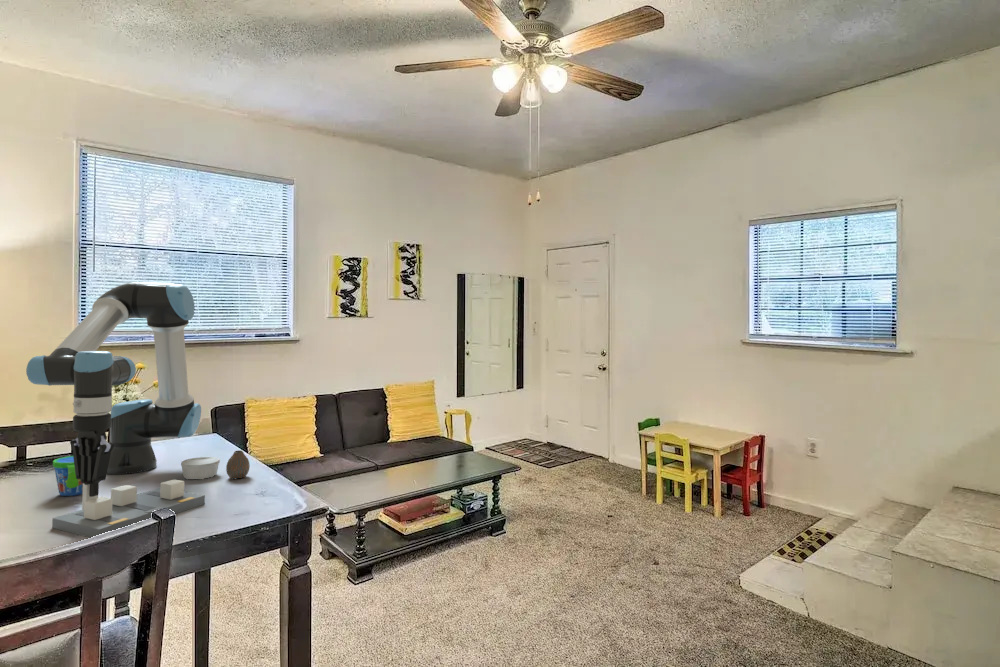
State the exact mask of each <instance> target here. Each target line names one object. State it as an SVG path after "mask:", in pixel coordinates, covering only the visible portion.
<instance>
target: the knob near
mask: <svg viewBox="0 0 1000 667" xmlns="http://www.w3.org/2000/svg"><path fill="white" fill-rule="evenodd" d="M110 515H112V499H111V497H107V496H98V498H94V499H91V500H87V501H84V518H88V519H92V520H97V519H100V518H103V517H107V516H110Z"/></svg>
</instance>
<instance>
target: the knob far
mask: <svg viewBox="0 0 1000 667" xmlns="http://www.w3.org/2000/svg"><path fill="white" fill-rule="evenodd" d="M159 488H160V498H165V499H170V500H171V499H174V498H178V497H181V496H184V491H185V481H184V480H179V479H175V478H174V479H171V480H167V481H162V482H160V486H159Z"/></svg>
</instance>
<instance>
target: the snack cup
mask: <svg viewBox="0 0 1000 667" xmlns="http://www.w3.org/2000/svg"><path fill="white" fill-rule="evenodd" d="M52 467H53V468H54V471H55V472H54V473H55V480H56V484H57V489H58V494H59V495H60V496H61V497H63V496H65V497H70V496H71V497H72V496H79V495H80V496H81V495H83V494H82V491H83V490H82V486H83V483H81V480H80V479H76V474H75V466H74V458H73V455H68V456H64V457H63V456H62V457H59V458H55V459H54V460H52Z"/></svg>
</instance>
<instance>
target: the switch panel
mask: <svg viewBox="0 0 1000 667" xmlns="http://www.w3.org/2000/svg"><path fill="white" fill-rule="evenodd" d="M205 498H206V495H205V494H200V493H195V492H188V491H185V490H184V496H181V497H178V498H174V499H171V500H170V499H165V498H160V487H159V488H155V489H151V490H148V491H144V492H139V493H137V502H134V503H131V504H127V505H124V506H117V505H113V504H112V515H110V516H107V517H103V518H100V519H97V520H92V519H88V518H84V510H82V509H80V510H77V511H74V512H73V511H72V512H69V513H65V514H62V515H57V516H56V517H52V522H51V523H52V524H51V527H52V529H54V530H59V531H63V532H67V533H69V534H70V533H71V534H75V535H79V536H82V537H85V538H86V537H87V538H90V537H93V536H96V535H99V534H102V533H105V532H108V531H112V530H116V529H118V528H122V527H125V526H128V525H131V524H133V523H137V522H139V521H142V520H146V519H149V518H151V513H152V511H154V510H158V509H162V508H168V509H171V510H172V511H174V512H175V513H176V514H179V513H182V512H184V511H188V510H190V509H193V508H197V507H199V506H201V505H202V506H203V505H205V502H206V501H205V500H206V499H205Z"/></svg>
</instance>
